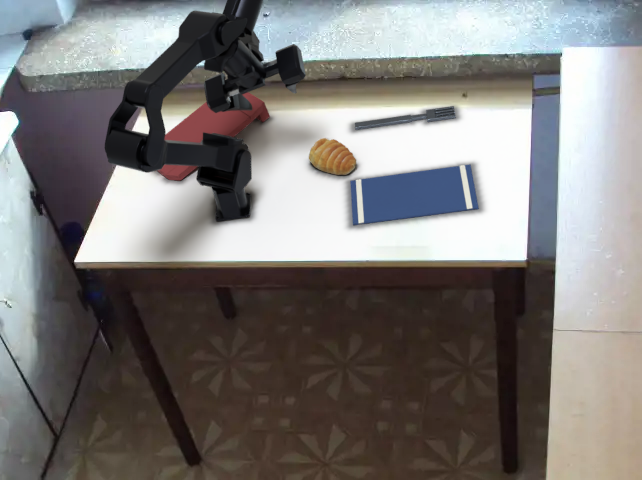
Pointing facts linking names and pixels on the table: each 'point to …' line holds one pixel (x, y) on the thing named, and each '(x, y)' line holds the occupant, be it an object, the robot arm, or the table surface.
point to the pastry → (332, 157)
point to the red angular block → (211, 129)
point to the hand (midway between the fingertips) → (273, 99)
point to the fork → (410, 118)
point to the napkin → (413, 194)
